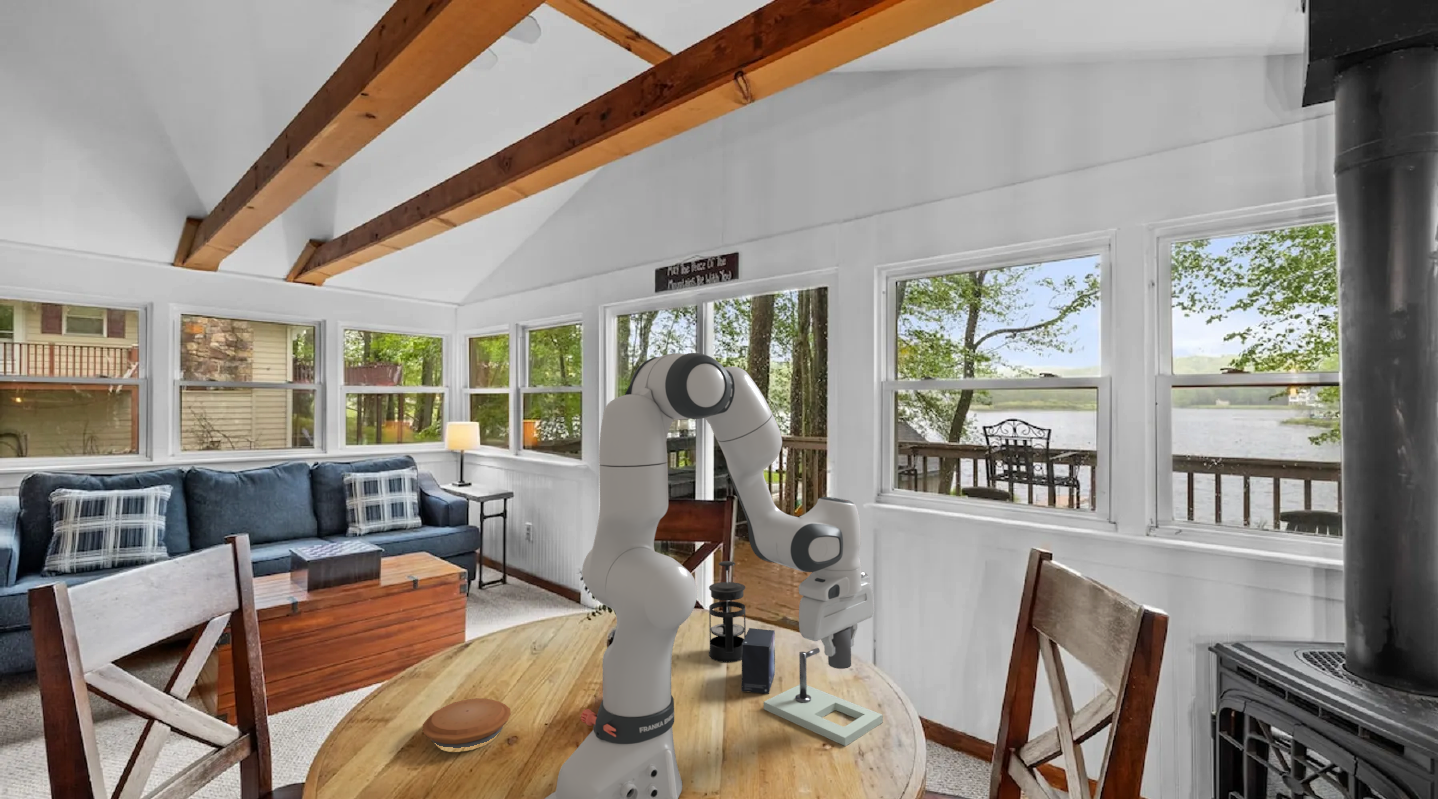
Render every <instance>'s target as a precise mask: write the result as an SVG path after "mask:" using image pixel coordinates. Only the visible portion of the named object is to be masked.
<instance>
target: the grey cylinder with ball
mask: <svg viewBox="0 0 1438 799" xmlns="http://www.w3.org/2000/svg"><path fill="white" fill-rule="evenodd" d="M831 640H832V643H833V645H835V646H836V654H835V655H833V656H831V657H830V656H827V659H828V661H827V662H828V663H827V664H828V665H829V666H830V667H831V668H834V669H839V670H843V669H845V670H846V669H849V668H850V667H852V647H851V628H850V627H848V628H846V629H844V630H841V631H839V632H837V633H834V634H833V639H831Z"/></svg>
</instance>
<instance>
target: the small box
mask: <svg viewBox="0 0 1438 799" xmlns="http://www.w3.org/2000/svg"><path fill="white" fill-rule="evenodd" d="M775 632H776V631H775V630H773V629H763V628H752V627H749V628H748V630H747V631H746V636H745V638H744V637H743V639H744V640H743V642H742V660H741V686H740V687H741V692H746V693H754V694H755V693H756V694H766V695H769V694H770V691H771V687H772V684H773V681H774V678H775V674H776V672H775V671H776V638H775V637H776V636H775V635H776V633H775Z"/></svg>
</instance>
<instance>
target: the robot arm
mask: <svg viewBox="0 0 1438 799" xmlns="http://www.w3.org/2000/svg"><path fill="white" fill-rule="evenodd" d="M700 419H705V420H706V421H707V423H708V425H710V428H711V431H712V432H713V435H714V437H715V439H716V441H717V443H718V445H719V448H720V449H721V451H722V453H723V456H724V458H725V461H726V468H727V472H728V475H729V479H730V480H731V483H732V486H733V488H734V491H735V494H736V497H737V498H738V501H739V504H740V506H741V508H742V512H743V514H744V516H745V519H746V524H747V530H748V533H747V534H748V540H749V545H750V547H751V550H752V552H753V553H754V554H755V556H756V557H757V558H759V559H760V560H762V561H764V562H769V563H773V564H778V565H780V566H785V567H786V568H790V569H793V570H797V571H799V572H801V573H802V572H804V573H810V574H809V575H808V576H807V577H806V578H805V579H804V580H803V581H802V582H800V583H799V586H798V594H799V595H800V596H802V597H801V599H800V601H799V606H798V626H799V627H798V628H799V633H800V635H801V636H802V638H804V639H806V640H809V641H812V642H818V641H820V640H821V643H822V645H823V647H824V655H825V656H827V657H828V656H830V657H831V656H833V655H835V654H836V646H835V645H833V643H832V640H831V639H833V634H834V633H837V632H839V631H841V630H844V629H846V628H848V627H850V628H851V648H852V647H854V645H855V639H854V638H855V637H856V634H857V631H858V624H860V623H862V622H865V621H866V620H868V619H871V618H873V616H874V613H875V598H874V591H873V586H872V584H871V583H870V581H871V580H870V576H869V575H868V574H867V573H866V572H865V571H862V562H861V559H860V548H861V544H862V541H861V540H862V538H861V537H862V536H861V534H862V533H861V521H860V520H861V519H860V515H859V514H860V513H859V510H858V507H857V505H856V503H854V502H853V501H851V500H849V499H848V500H847V499H843V498H837V497H832V496H822V497H820V498H818V499H817V502H816V504H815V505H814V506H813V507H812V508H811V509H809V511H807V512H805V513H804V514H802V515H800V516H799V517H798V516H794V515H791V514H787V513H786V512H784V511H782V510H780V509H779V508H778V507H777V506H776V504H775V502H774V499H773V496H772V494H771V492H770V490H769V486H768V484H767V481H766V479H765V475H764V470H766V468H768V467H769V466H771V465H772V464H773V463H774V462H775V461H776V460H777V458H778V456H779V454H780V452H781V450H782V445H783V438H782V434H781V430H780V427H779V424H778V422H777V421H776V418H775V416H774V415H773V412H772V410H771V407H770V406H769V404H768V402H767V400H766V398H765V397H764V395H763V393H762V391H761V389H760V388H759V387H758V386H757V383H756V382H755V381H754V380H753V379H752V377H751V375H750V374H749V373H748V372H747V371H746V370H745V369H743V368H741V367H739V366H725V367H724V366H723V365H722V363H721V362H719V361H718V360H717V359H715V358H714V357H711V356H709V355H707V354H703V353H699V352H690V353H678V352H677V353H675V352H674V353H667V354H664V355H661V356H656V357H652V358H648V359H647V360H645V361H644V362H643V363H641V364H640V365H639V366H638V367H637V368H636V370H635V371H634V372H633V375H632V377H631V379H630V383H629V386H628V388H627V390H625V393H624V395H621V396H618V397H615V398H613V399H612V400H611V401H609V402H608V403H607V405H606V406H605V408H604V410H603V415H602V419H601V427H600V433H599V435H600V436H599V444H598V445H599V446H598V447H599V449H598V463H599V464H598V468H599V470H598V472H599V474H598V475H599V476H598V480H599V484H598V485H599V512H598V521H597V527H596V532H595V535H594V540H593V545H592V549H591V550H590V551H589V552H588V553H587V555H586V557H585V558H584V561H583V563H582V564H583V565H582V568H581V571H582V572H581V574H582V579H583V583H584V585H585V586H586V588H587V589H588V591H589V592H590V594H591V595H592V597H594V598H595V599H596V601H598V602H599V603H601V604H602V605H604V606H606V607H608V608H609V609H610V610H611V609H612V610H613V611H614V612H615V616H616V627H615V631H614V635H613V640H612V642H611V644H610V645H609V646H607V647H606V649H605V651H604V653H603V656H602V700H601V703H600V705H599V708H598V711H597V713H596V712H593V711H592V709H589V708H585V709H584V710H582V712H581V714H580V720H581V722H582V723H584V724H586V725H587V726H593V727H592V731H591V732H590V733H589V734H588V735H587V736H586V737H585V739H583V741H582V742H581V744H579V746H578V747H577V748H576V749H575V750H574V751H573V752H572V754H571V755H570V756H569V757H568V758H567V759H566V760H565V762H564V763H563V764H562V765H561V767H560V770H559V772H558V774H557V775H558V777H557V781H556V789H555V791H554V792H552V793H551V794H549V795H548V796H546V797H545V798H544V799H679V798H680V795H681V793H682V790H683V781H682V778H681V775H680V774H681V773H680V771H679V766H678V764H677V758H676V757H677V756H676V752H675V744H674V743H675V742H674V732H673V725H674V723H675V701H674V700H675V699H674V697H673V695H672V658H673V657H672V656H673V650H674V649H673V647H674V643H675V640H676V637H677V633H678V630H679V628H680V626H681V625H682V624H684V623H685V622H687V620H688V618H689V617H690V616H691V615H692V612H693V611H694V608H695V606H696V602H697V598H698V587H697V586H698V585H697V582H696V579H695V577H694V576H693V574H692V573H691V572H690V571H689V570H688V569H687V568H686V567H685V566H683V565H682V564H681V563H680V562H678V560H676V559H674V558H673V557H671V556H669V555H666V554H663V553H661V552H658V551H655V537H656V533H657V529H658V528H657V527H658V526H659V523H660V521H661V519H662V518H663V517H664V516H665V515H666V514H667V512H668V509H669V478H668V477H669V475H668V473H669V471H668V449H667V448H668V447H667V441H668V435H669V434H668V433H669V432H670V431H669V430H670V428H671V426H672V424H673V422H674V421H675V420H677V421H678V420H700Z"/></svg>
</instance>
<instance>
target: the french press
mask: <svg viewBox="0 0 1438 799" xmlns="http://www.w3.org/2000/svg"><path fill="white" fill-rule="evenodd" d="M735 565H736V563H735V561H729V560H725V561H720V562H718V566H721V567H724V570H725V571H726V573H725V574H726V576H725V577H726V578H725V579H726V581H722V582H715V583H713V584H711V585H709V586H708V589H709V590H710V596H711V598H712V599H714V600H718V601H717V602H714V603H711V604H710V605H709V607H708V608H709V615H708V616H709V625H708V626H709V627H708V628H709V652H708V657H709V658H710V659H711V660H713V661H715V662H720V663H736V662H740V661H742V642H743V640H744V638H745V636H746V634H747V631H746V630H747V629H746V605H745V604H744V603H742V602H739V601H737V600H739V599H742V598H743V597H744V591H745V590H746V586H745V585H744V584H742V583H739V582H735V581H734V582H733V581H729V574H728V573H729V572H728V571H730V567H733V566H735ZM730 607H733V608H739V609H740V610H737V611H730V609H731V608H730ZM718 608H722V611H717V610H715V609H718ZM712 616H713V617H716V618H722V623H720V624H715V625H713V626H712V623H711V622H712V621H711V620H712V618H711V617H712ZM741 616H743V626H742V625H741V624H737V623H734V618H739V617H741ZM712 635H714V637H712ZM741 635H744V636H743V637H741Z"/></svg>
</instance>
